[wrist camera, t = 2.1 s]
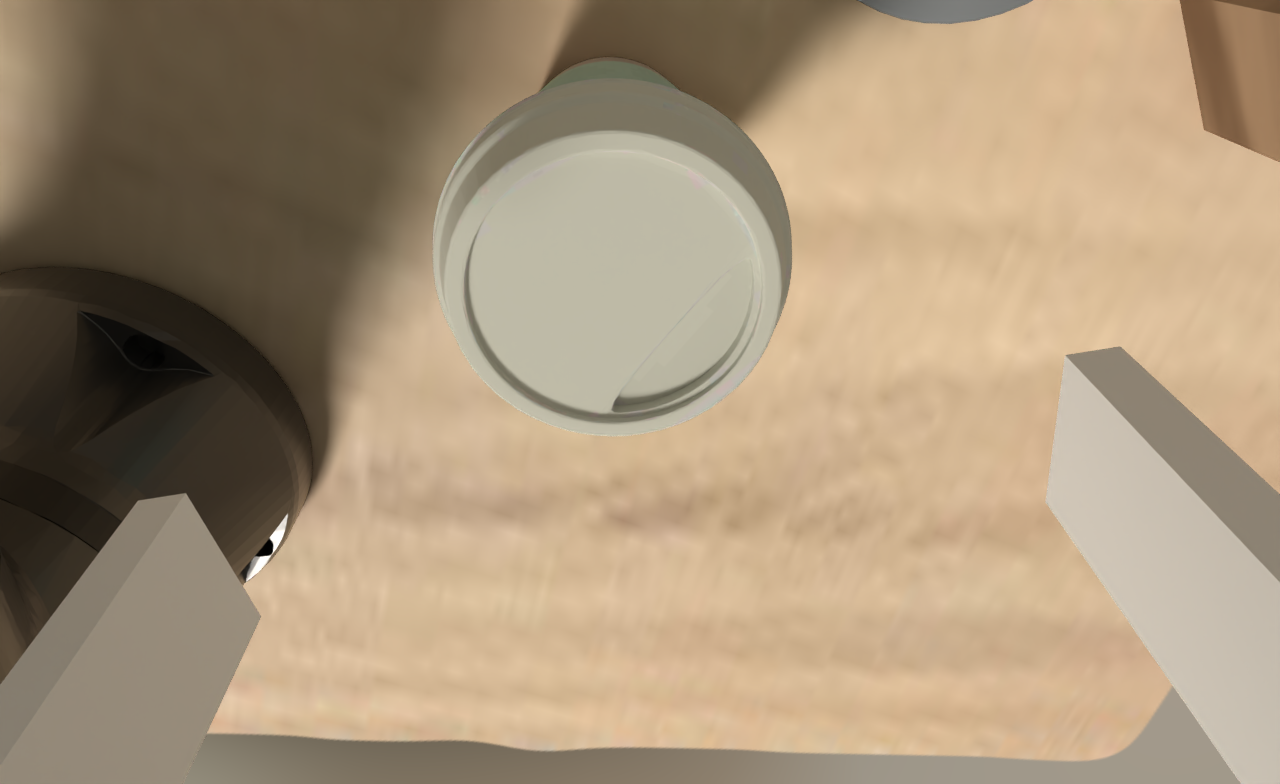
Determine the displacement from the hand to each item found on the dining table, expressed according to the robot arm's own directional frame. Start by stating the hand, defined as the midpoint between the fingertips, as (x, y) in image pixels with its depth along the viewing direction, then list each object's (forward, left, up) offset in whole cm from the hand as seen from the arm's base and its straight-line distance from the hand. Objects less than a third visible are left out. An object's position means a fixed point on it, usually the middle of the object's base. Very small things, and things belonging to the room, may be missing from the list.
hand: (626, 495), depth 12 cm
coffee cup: (0, 0, -19) cm, 19 cm away
